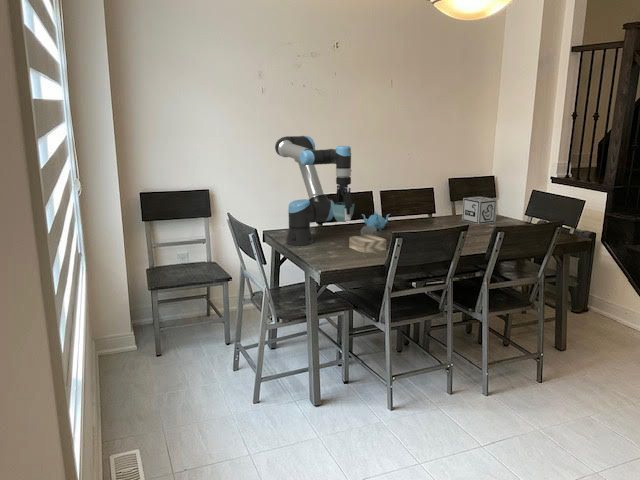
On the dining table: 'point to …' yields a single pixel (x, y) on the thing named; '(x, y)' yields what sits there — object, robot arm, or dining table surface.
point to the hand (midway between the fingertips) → (343, 218)
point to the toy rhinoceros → (368, 230)
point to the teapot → (376, 221)
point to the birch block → (367, 243)
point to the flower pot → (341, 211)
